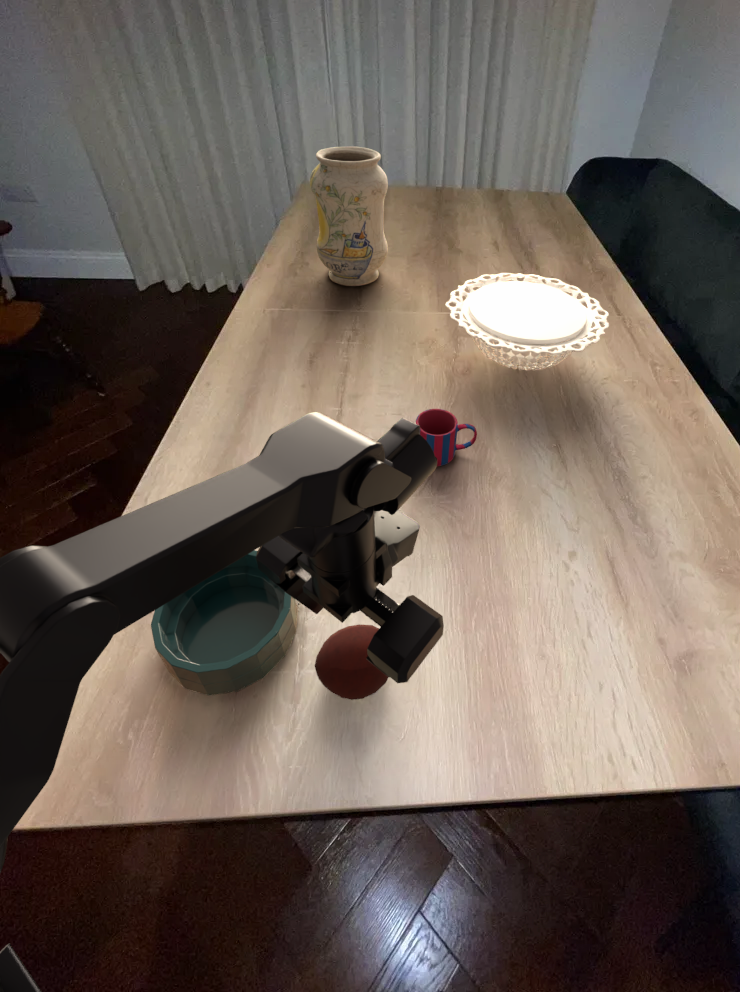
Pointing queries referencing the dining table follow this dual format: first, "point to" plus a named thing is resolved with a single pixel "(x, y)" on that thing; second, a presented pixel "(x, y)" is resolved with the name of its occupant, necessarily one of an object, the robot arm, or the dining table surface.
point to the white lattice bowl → (527, 319)
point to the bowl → (225, 629)
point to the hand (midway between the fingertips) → (351, 635)
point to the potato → (349, 663)
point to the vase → (350, 213)
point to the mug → (442, 433)
